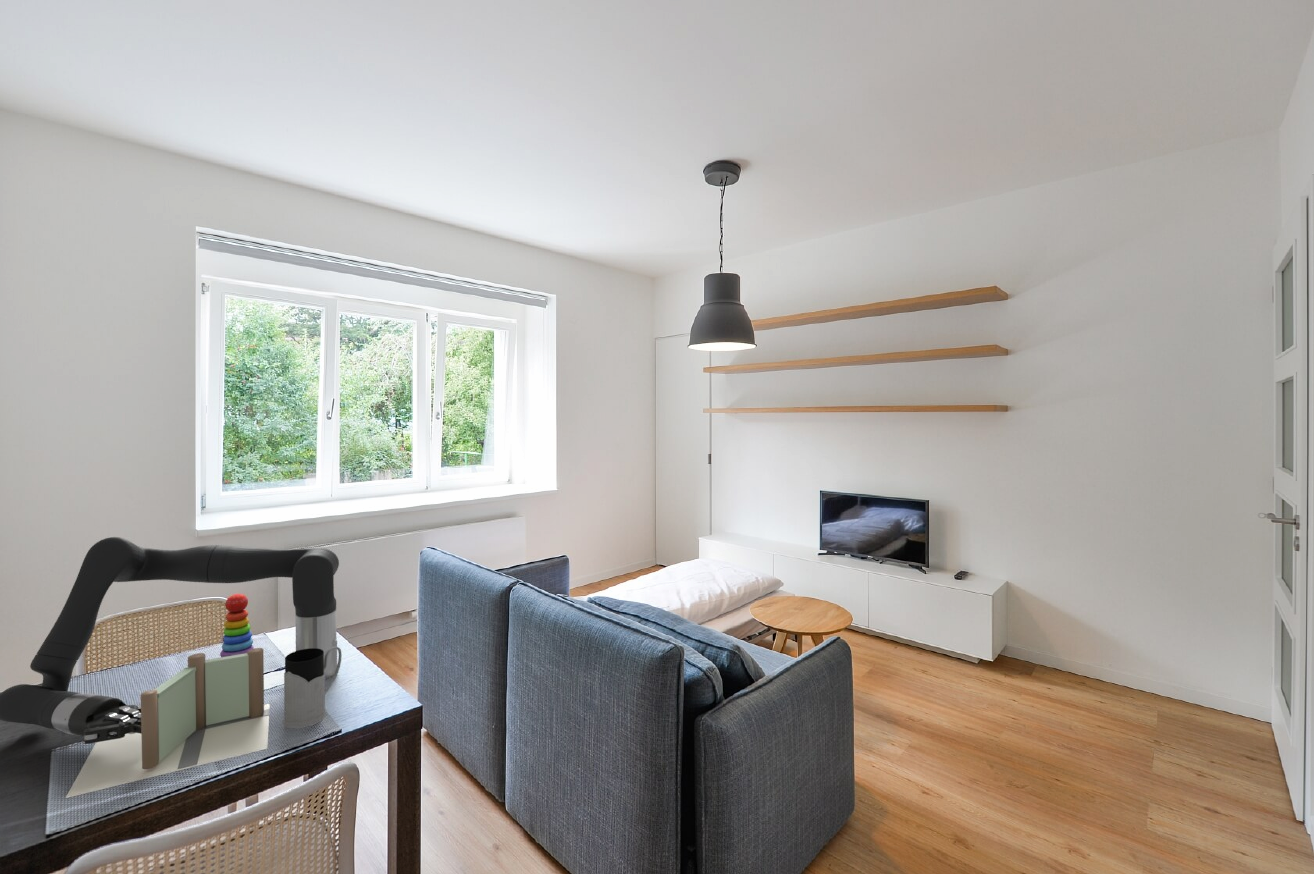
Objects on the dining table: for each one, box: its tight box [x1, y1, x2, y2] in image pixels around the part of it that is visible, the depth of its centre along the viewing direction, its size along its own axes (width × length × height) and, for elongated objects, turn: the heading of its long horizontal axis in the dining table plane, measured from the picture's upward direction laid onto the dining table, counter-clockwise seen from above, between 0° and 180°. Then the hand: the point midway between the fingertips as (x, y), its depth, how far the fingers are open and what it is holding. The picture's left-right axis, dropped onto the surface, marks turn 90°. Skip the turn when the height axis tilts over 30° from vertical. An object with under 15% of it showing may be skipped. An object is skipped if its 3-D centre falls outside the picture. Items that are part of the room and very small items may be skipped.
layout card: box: [65, 703, 271, 799], centre depth 121 cm, size 30×21×1 cm
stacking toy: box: [219, 593, 255, 658], centre depth 160 cm, size 8×8×19 cm
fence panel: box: [140, 667, 196, 769], centre depth 118 cm, size 14×2×15 cm, turn 9°
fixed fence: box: [187, 647, 265, 731], centre depth 129 cm, size 14×3×16 cm, turn 123°
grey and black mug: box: [282, 646, 343, 729], centre depth 134 cm, size 9×14×15 cm, turn 162°
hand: (155, 727), depth 115 cm, fingers closed
